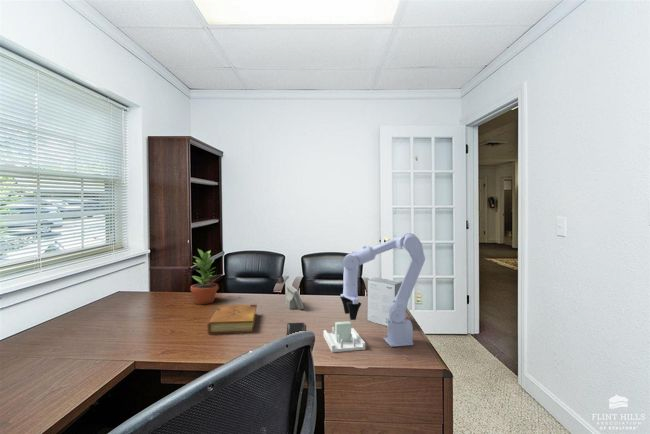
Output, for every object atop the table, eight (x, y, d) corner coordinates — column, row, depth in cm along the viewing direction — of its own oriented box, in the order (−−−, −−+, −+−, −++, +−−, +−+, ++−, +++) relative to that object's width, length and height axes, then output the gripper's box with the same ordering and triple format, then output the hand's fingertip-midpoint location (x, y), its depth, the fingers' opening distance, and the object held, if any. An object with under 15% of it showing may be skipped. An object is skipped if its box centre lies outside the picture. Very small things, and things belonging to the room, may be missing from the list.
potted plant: (214, 305, 179) (213, 250, 178) (186, 305, 179) (185, 250, 178) (222, 297, 194) (222, 246, 192) (197, 297, 194) (196, 246, 193)
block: (349, 338, 134) (349, 321, 133) (351, 340, 131) (351, 323, 131) (334, 339, 132) (335, 322, 132) (336, 341, 130) (336, 324, 130)
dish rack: (353, 333, 141) (353, 324, 141) (365, 349, 126) (365, 339, 125) (323, 336, 138) (323, 326, 138) (332, 352, 123) (332, 341, 123)
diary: (218, 317, 162) (218, 305, 162) (256, 315, 165) (256, 304, 164) (207, 335, 139) (207, 321, 139) (252, 333, 142) (252, 320, 142)
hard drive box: (403, 324, 152) (404, 281, 151) (394, 329, 147) (395, 284, 146) (375, 316, 163) (376, 276, 162) (366, 320, 157) (366, 279, 156)
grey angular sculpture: (304, 310, 171) (304, 290, 171) (286, 311, 170) (286, 291, 169) (300, 301, 187) (300, 283, 187) (284, 302, 186) (284, 283, 185)
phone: (286, 336, 136) (287, 322, 151) (286, 338, 136) (287, 325, 151) (305, 335, 137) (304, 322, 152) (305, 338, 137) (304, 324, 152)
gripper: (336, 280, 141) (336, 311, 141) (346, 288, 127) (345, 323, 127) (352, 279, 142) (351, 310, 143) (363, 287, 128) (363, 321, 129)
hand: (350, 316), depth 135 cm, fingers open, 7 cm apart
